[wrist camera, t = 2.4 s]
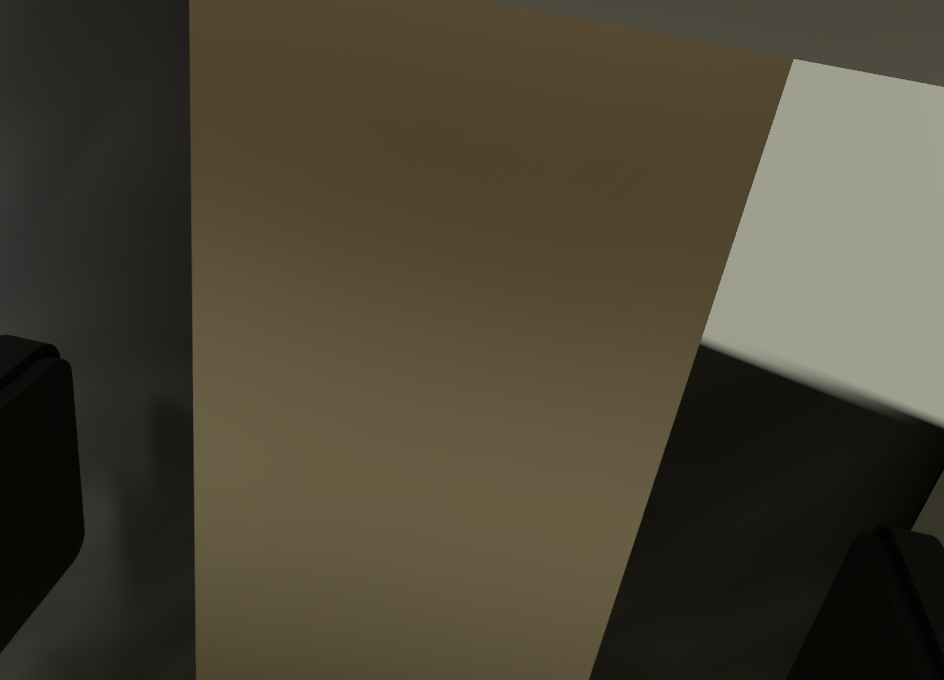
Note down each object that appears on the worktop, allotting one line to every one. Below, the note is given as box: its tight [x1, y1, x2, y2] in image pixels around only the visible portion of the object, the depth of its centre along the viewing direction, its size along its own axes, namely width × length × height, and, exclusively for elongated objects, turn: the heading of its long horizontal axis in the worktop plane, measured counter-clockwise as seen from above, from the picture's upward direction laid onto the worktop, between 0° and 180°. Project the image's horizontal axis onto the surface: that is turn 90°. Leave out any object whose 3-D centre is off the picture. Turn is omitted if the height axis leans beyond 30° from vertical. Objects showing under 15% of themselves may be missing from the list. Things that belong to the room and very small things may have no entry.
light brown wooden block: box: [189, 0, 944, 680], centre depth 10 cm, size 15×7×6 cm, turn 171°
